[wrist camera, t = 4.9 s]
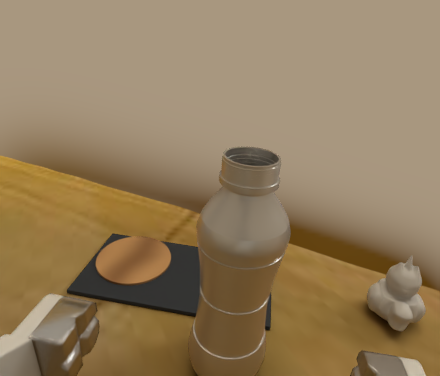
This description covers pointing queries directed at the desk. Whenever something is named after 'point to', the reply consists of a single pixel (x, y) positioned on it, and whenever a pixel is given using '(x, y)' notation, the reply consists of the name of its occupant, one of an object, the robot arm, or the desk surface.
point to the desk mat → (153, 284)
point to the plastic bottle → (238, 264)
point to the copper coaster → (133, 260)
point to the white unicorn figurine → (398, 296)
